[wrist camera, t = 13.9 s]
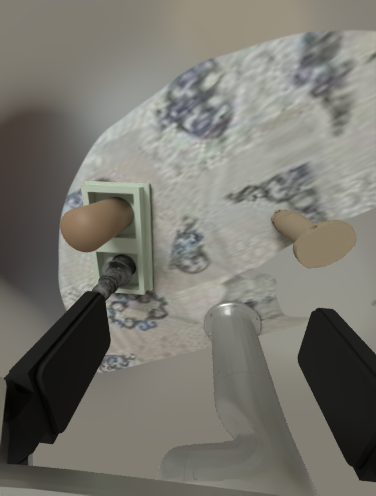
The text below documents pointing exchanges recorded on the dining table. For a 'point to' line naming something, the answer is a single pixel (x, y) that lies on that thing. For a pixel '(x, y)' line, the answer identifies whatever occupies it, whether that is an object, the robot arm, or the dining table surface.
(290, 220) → the handle
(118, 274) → the salt shaker
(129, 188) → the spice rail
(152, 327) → the dining table surface
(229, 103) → the dining table surface
